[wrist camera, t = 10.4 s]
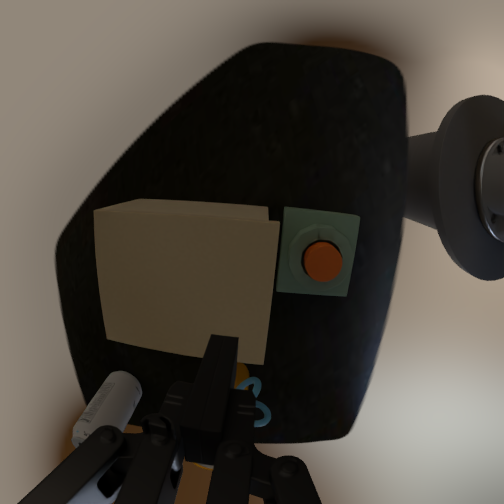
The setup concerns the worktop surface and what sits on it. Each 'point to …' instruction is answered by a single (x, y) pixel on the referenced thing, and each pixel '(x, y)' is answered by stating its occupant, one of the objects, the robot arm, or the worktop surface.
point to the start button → (322, 261)
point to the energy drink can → (109, 406)
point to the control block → (307, 233)
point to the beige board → (185, 280)
